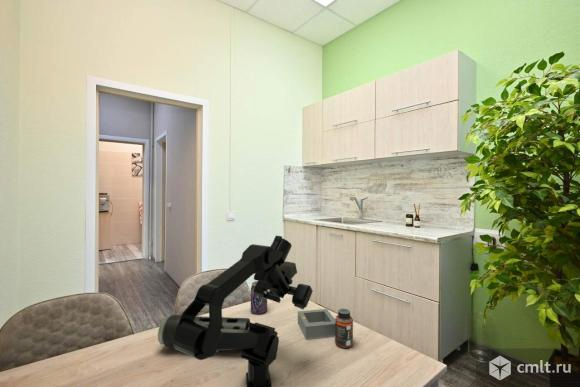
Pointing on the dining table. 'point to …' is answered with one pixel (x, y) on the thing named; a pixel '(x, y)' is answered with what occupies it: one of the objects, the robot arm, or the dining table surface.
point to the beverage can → (257, 302)
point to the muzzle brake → (171, 322)
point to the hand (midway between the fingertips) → (291, 304)
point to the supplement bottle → (344, 329)
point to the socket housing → (316, 323)
